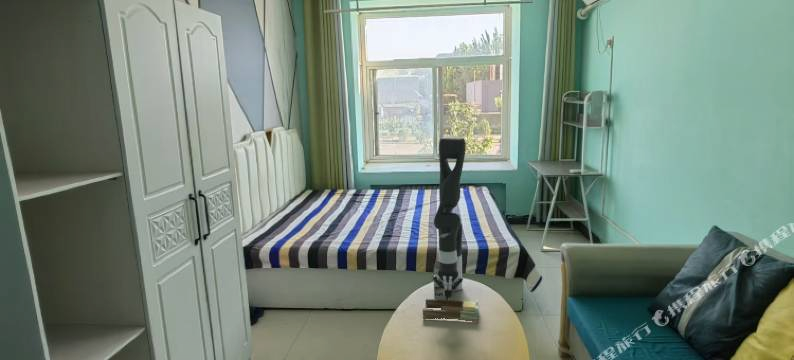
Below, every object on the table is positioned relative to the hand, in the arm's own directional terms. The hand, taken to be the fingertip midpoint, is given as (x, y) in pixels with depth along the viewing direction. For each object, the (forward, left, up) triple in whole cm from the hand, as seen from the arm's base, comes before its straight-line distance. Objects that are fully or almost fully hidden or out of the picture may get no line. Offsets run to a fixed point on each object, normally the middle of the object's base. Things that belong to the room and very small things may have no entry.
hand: (448, 296), depth 192 cm
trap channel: (0, +1, -8) cm, 8 cm away
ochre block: (+1, +9, -6) cm, 11 cm away
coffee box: (-16, -4, -9) cm, 18 cm away
